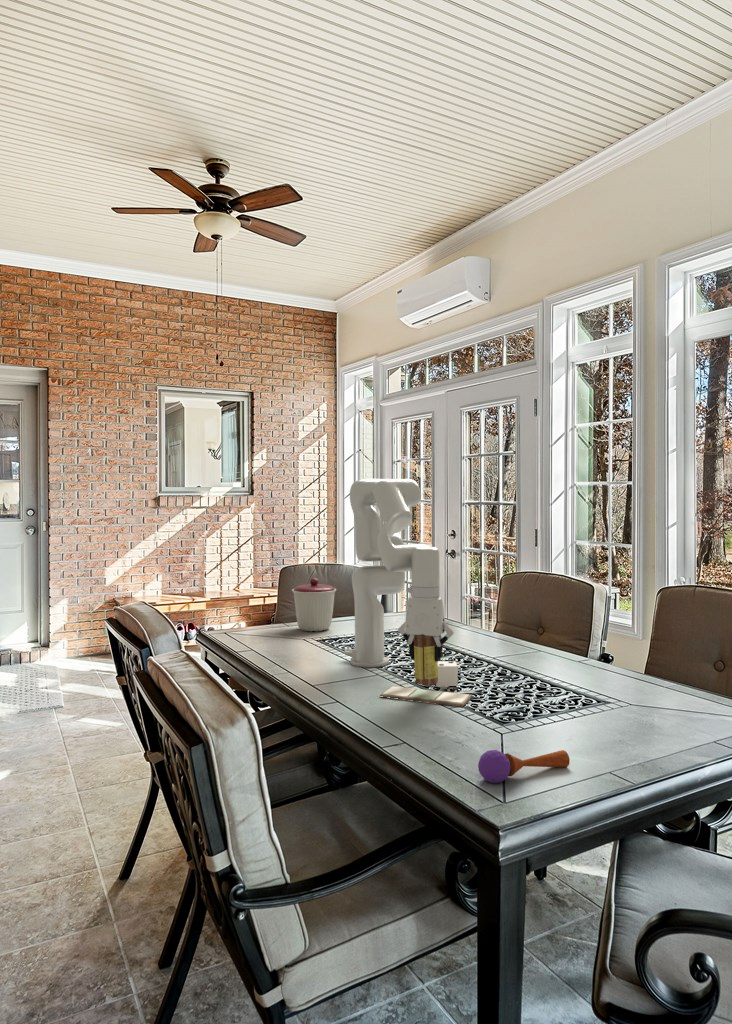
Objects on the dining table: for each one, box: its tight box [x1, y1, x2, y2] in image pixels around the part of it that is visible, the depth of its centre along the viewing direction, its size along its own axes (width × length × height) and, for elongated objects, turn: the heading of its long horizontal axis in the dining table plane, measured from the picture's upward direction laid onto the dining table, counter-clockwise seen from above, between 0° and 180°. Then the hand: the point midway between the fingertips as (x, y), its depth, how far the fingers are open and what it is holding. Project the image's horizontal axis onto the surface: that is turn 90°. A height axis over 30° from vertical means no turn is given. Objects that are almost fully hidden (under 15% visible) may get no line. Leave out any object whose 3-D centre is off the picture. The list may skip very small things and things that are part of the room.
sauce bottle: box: [413, 634, 438, 686], centre depth 186 cm, size 7×6×20 cm
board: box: [379, 685, 473, 708], centre depth 186 cm, size 23×9×1 cm, turn 68°
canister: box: [291, 577, 337, 632], centre depth 282 cm, size 18×18×21 cm
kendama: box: [477, 749, 571, 784], centre depth 135 cm, size 6×6×20 cm
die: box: [435, 660, 459, 688], centre depth 200 cm, size 6×6×6 cm
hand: (425, 658), depth 186 cm, fingers closed on sauce bottle, 6 cm apart
